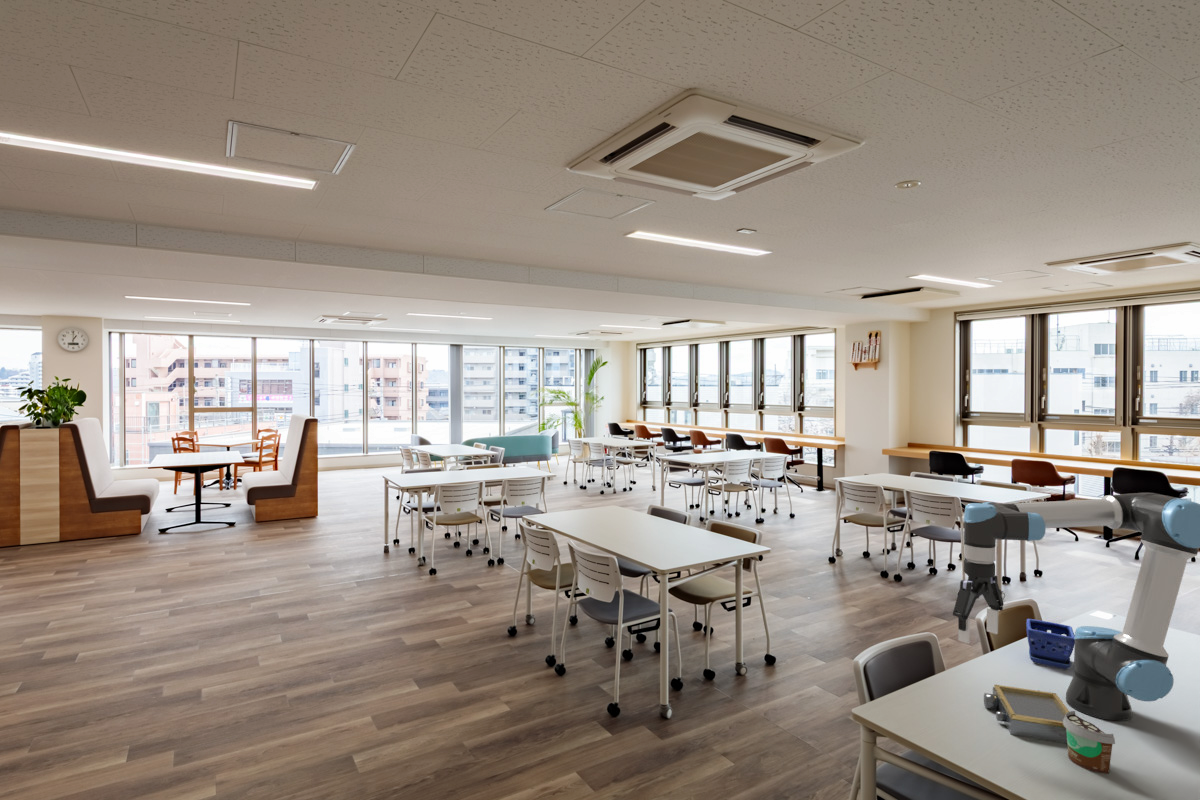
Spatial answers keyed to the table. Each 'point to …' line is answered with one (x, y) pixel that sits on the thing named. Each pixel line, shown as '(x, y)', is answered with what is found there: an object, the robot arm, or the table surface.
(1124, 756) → the table surface
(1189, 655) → the table surface
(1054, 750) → the table surface
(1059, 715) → the grey flat box
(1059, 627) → the flower pot
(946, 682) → the table surface
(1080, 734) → the food container
